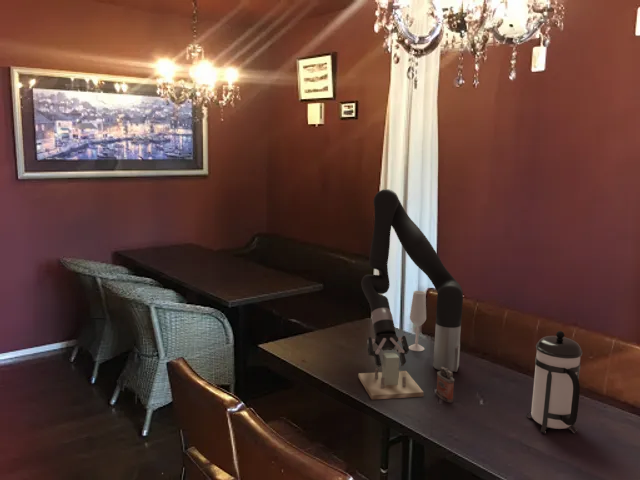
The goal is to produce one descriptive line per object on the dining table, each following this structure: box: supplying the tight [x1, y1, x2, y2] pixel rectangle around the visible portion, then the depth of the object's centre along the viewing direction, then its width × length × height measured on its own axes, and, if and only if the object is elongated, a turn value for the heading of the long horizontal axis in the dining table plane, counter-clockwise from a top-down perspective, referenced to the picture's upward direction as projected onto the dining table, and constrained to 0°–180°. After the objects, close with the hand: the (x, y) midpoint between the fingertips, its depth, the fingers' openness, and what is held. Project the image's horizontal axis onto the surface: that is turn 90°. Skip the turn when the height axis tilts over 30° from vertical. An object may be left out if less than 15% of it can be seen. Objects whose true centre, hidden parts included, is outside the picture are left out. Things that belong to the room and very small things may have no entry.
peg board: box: [357, 368, 424, 400], centre depth 196 cm, size 18×18×5 cm
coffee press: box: [526, 330, 583, 434], centre depth 168 cm, size 17×16×30 cm
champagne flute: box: [408, 290, 427, 352], centre depth 232 cm, size 7×7×24 cm
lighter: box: [435, 367, 456, 403], centre depth 189 cm, size 8×3×10 cm, turn 21°
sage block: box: [381, 352, 400, 385], centre depth 196 cm, size 4×4×10 cm
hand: (391, 365), depth 195 cm, fingers open, 8 cm apart
